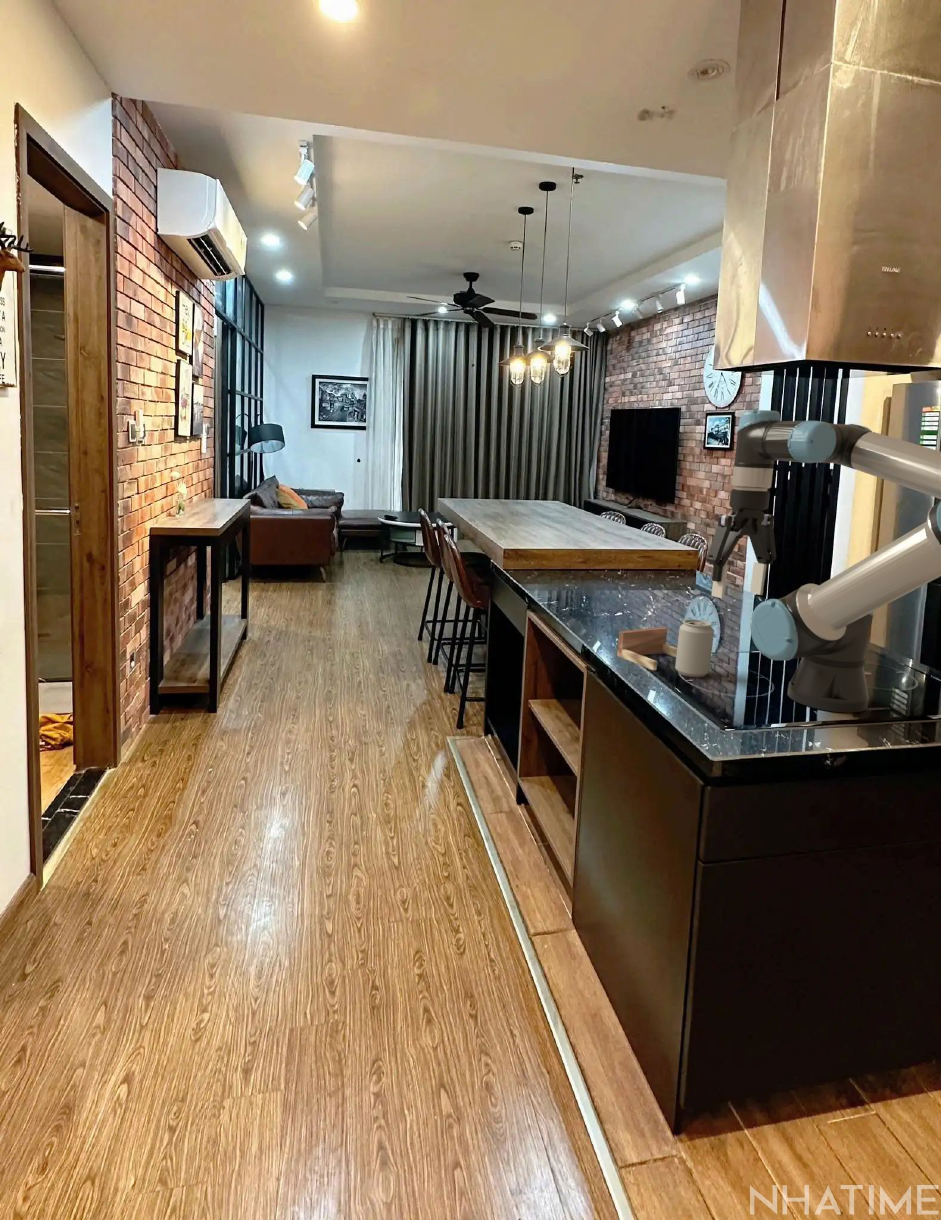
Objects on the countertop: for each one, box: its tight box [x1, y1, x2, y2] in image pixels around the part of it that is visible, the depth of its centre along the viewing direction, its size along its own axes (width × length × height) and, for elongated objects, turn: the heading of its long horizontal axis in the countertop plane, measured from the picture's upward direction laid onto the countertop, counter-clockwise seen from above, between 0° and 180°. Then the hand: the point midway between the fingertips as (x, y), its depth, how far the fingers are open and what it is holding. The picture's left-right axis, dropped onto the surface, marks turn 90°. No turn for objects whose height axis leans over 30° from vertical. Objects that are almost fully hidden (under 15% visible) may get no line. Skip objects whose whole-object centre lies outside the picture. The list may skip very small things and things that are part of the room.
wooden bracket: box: [616, 626, 677, 671], centre depth 182 cm, size 12×14×6 cm
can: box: [674, 618, 715, 678], centre depth 172 cm, size 8×8×12 cm
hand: (737, 595), depth 161 cm, fingers open, 11 cm apart
